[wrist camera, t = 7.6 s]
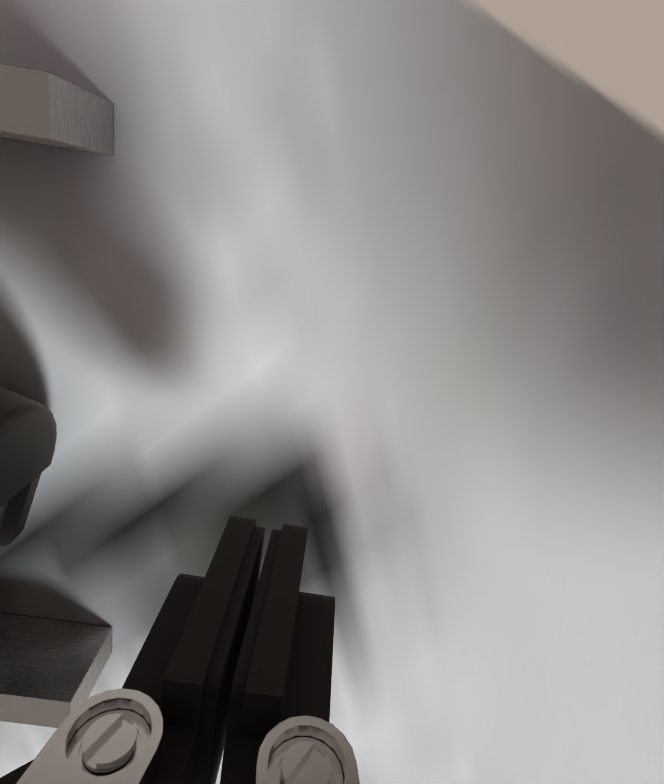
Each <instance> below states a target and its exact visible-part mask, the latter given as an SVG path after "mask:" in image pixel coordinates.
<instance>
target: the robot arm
mask: <svg viewBox="0 0 664 784" xmlns="http://www.w3.org/2000/svg"><path fill="white" fill-rule="evenodd" d="M264 533H265V528H263V527H256V519H250V518H244V517H237V516H230V518H229V520H228V523H227V525H226V528H225V530H224V532H223V535H222V537H221V540H220V542H219V544H218V547H217V549H216V552H215V554H214V557H213V559H212V561H211V564H210V566H209V569H208V571H207V573H206V576H205V577H199V576H193V575H186V574H180V575H178V577H177V578H176V580H175V582H174V584H173V586H172V588H171V590H170V592H169V594H168V596H167V598H166V600H165V602H164V604H163V606H162V608H161V610H160V612H159V614H158V616H157V618H156V620H155V622H154V624H153V626H152V628H151V630H150V632H149V634H148V636H147V638H146V641H145V643H144V645H143V647H142V649H141V651H140V653H139V655H138V657H137V659H136V661H135V663H134V665H133V667H132V669H131V671H130V673H129V675H128V677H127V679H126V681H125V683H124V685H123V687H122V689H116V690H108V691H105V692H103V693H100V694H97V695H95V696H92V697H90V698H89V699H87V700H86V701H84V702H83V703H81V704H80V705H78V706H77V707H76V708H75V709H74V710H73V711H72V712H71V713H70V714H69V715H68V716H67V717H66V718H65V719H64V721H63V722H62V723H61V725H60V726H59V727H58V729H57V730H56V731H55V733H54V734H53V735H52V737H51V738H50V739H49V741H48V742H47V743H46V745H45V746H44V747H43V749H42V750H41V751H40V753H39V754H38V755H37V757H36V758H35V759H34V760H32V761H30V762H28V763H27V764H25V765H23V766H21V767H19V768H18V769H16V770H14V771H12V772H10V773H8V774H7V775H5V776H3V777H1V778H0V784H215V782H216V778H217V774H218V770H219V766H220V762H221V758H222V754H223V762H222V771H221V780H220V784H360V783H359V776H358V769H357V763H356V759H355V756H354V753H353V749H352V747H351V745H350V744H349V742H348V740H347V739H346V737H345V736H344V734H343V733H342V732H340V731H339V730H338V729H337V728H336V727H335V726H334V725H333V724H331V723H329V717H330V697H331V676H332V655H333V635H334V614H335V597H331V596H324V595H317V594H311V593H304V592H299V587H300V580H301V574H302V567H303V560H304V553H305V546H306V540H307V533H308V527H302V526H296V525H289V524H283V528H282V530H276V529H272V532H271V536H270V540H269V544H268V548H267V552H266V555H265V559H264V563H263V567H262V571H261V574H260V578H259V573H260V565H261V557H262V549H263V541H264ZM258 581H259V582H258ZM223 750H224V753H223Z"/></svg>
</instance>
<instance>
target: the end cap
mask: <svg viewBox="0 0 664 784" xmlns="http://www.w3.org/2000/svg"><path fill="white" fill-rule="evenodd" d="M56 436H57V432H56V422H55V419H54V417H53V414H52V412H51V411H50V410H49V409H48V408H47V407H46V406H45V405H43V404H41V403H39V402H37V401H34V400H32V399H30V398H27V397H25V396H22V395H20V394H18V393H15V392H13V391H10V390H8V389H6V388H3V387H1V386H0V546H5V545H8V544H10V543H11V542H12V541H13V540H14V539H15V538H16V537H17V536H18V535H19V534H20V533H21V531H22V530H23V529H24V526H25V523H26V520H27V516H28V513H29V510H30V507H31V504H32V501H33V497H34V494H35V491H36V488H37V485H38V482H39V478H40V475H41V472H42V471H44V470H45V469H46V468H47V467H48V466H49V465H50V464H51V461H52V457H53V454H54V450H55V443H56Z"/></svg>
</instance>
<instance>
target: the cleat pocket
mask: <svg viewBox="0 0 664 784" xmlns="http://www.w3.org/2000/svg"><path fill="white" fill-rule="evenodd" d="M0 137H3V138H9V139H15V140H22V141H28V142H34V143H40V144H46V145H52V146H58V147H65V148H71V149H77V150H83V151H89V152H95V153H101V154H108V155H114V104H113V103H111V102H109V101H107V100H104V99H102V98H100V97H98V96H96V95H94V94H92V93H90V92H88V91H86V90H84V89H82V88H80V87H78V86H76V85H74V84H72V83H70V82H68V81H66V80H64V79H62V78H60V77H58V76H55V75H53V74H51V73H49V72H46V71H40V70H34V69H28V68H22V67H16V66H10V65H4V64H0ZM111 653H112V627H104V626H96V625H89V624H81V623H73V622H66V621H58V620H50V619H43V618H35V617H27V616H19V615H12V614H4V613H0V721H5V722H14V723H22V724H30V725H38V726H46V727H54V728H58V727H59V726H60V725H61V723H62V722H63V721H64V719H65V718H66V717H67V716H68V715H69V714H70V713H71V712H72V711H73V710H74V709H75V708H76V707H77V706H78V705H80V704H81V703H83V702H84V701H86V700H87V699H88V697H89V695H90V693H91V691H92V689H93V687H94V685H95V683H96V681H97V680H98V678H99V676H100V674H101V672H102V670H103V668H104V666H105V664H106V662H107V660H108V659H109V657H110V655H111Z"/></svg>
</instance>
